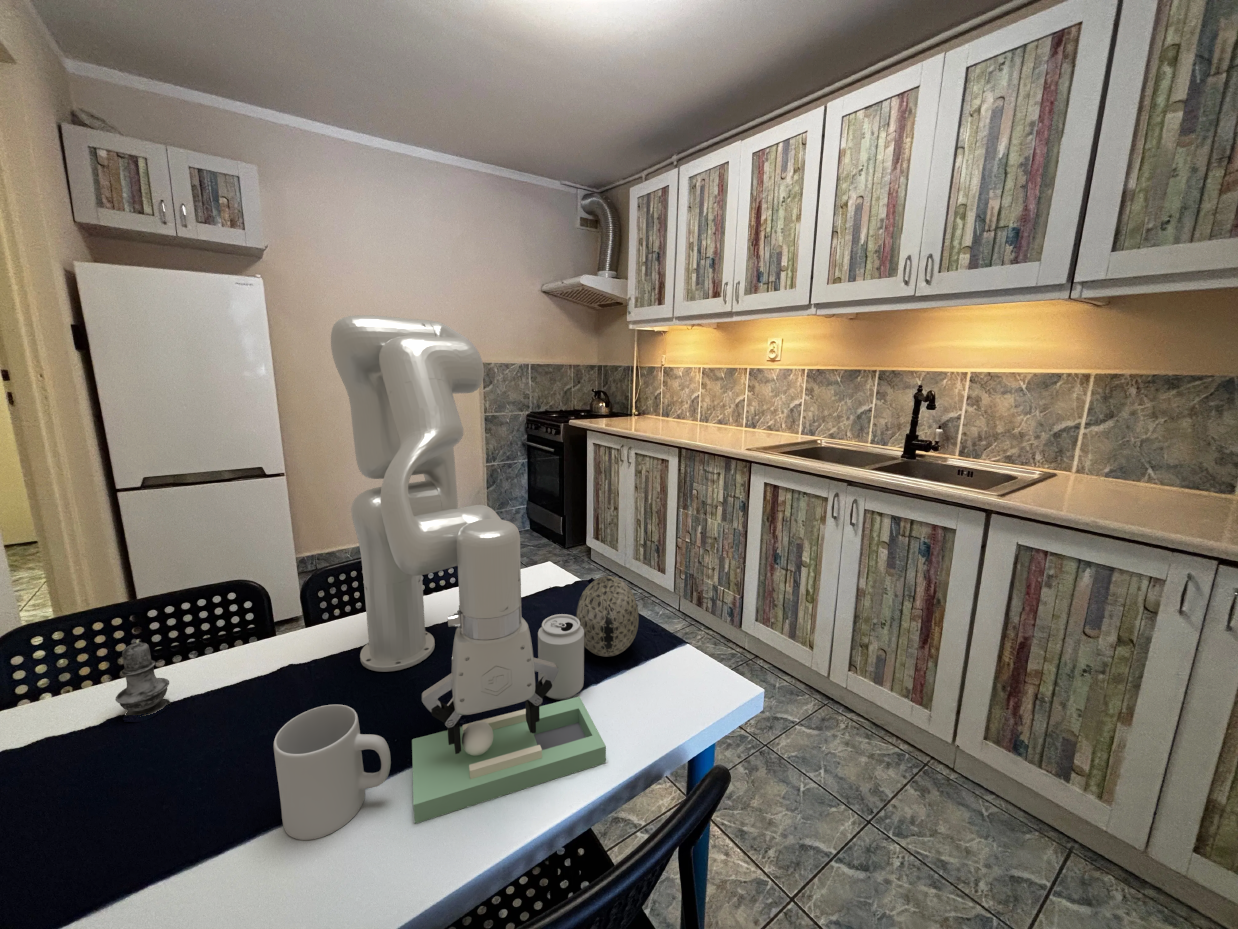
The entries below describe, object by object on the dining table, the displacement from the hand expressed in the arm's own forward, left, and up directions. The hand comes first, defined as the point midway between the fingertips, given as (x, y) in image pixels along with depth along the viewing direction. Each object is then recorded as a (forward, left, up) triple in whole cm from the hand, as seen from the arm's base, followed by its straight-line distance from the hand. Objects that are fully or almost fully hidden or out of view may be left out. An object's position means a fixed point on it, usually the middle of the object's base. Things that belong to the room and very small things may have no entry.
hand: (495, 736), depth 65 cm
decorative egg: (-19, +24, -4) cm, 31 cm away
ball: (0, -2, 0) cm, 2 cm away
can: (-12, +13, -4) cm, 18 cm away
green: (0, +2, -4) cm, 5 cm away
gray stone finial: (-30, -47, -4) cm, 56 cm away
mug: (0, -18, -4) cm, 19 cm away
